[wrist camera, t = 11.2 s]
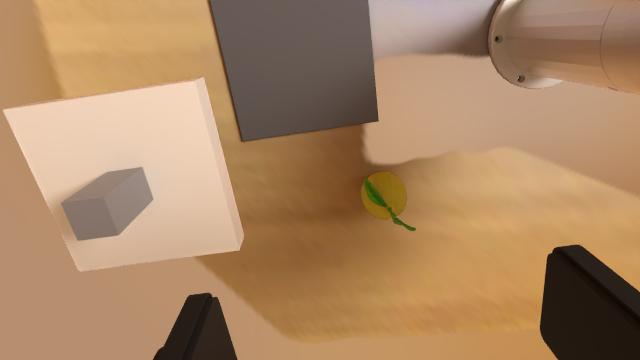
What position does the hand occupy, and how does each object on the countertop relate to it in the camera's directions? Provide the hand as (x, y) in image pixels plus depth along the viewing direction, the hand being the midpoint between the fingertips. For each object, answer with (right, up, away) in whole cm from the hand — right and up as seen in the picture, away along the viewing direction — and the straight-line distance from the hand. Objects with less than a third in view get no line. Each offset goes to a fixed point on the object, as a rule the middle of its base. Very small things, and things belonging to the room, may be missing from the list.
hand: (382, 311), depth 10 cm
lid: (-18, +4, +23) cm, 29 cm away
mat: (-4, +18, +32) cm, 37 cm away
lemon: (+6, +3, +38) cm, 39 cm away
